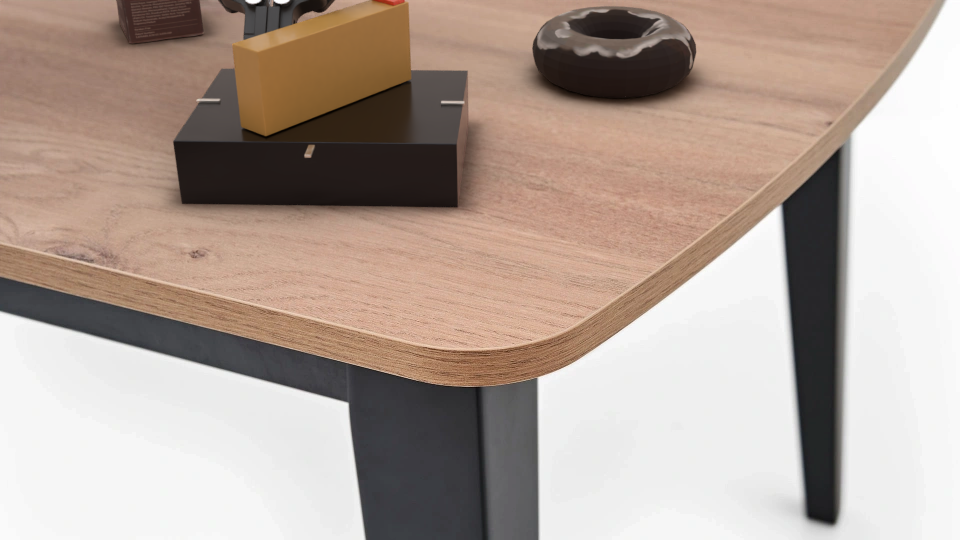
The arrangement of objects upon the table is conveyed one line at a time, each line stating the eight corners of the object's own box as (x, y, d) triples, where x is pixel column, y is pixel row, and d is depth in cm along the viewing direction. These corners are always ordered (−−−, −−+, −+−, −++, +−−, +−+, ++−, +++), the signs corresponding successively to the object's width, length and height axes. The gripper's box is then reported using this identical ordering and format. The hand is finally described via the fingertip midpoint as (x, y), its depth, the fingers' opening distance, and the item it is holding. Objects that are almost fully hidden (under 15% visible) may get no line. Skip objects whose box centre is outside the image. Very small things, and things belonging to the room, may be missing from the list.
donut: (604, 119, 81) (607, 62, 79) (500, 70, 89) (500, 18, 87) (728, 82, 87) (733, 28, 85) (619, 40, 95) (621, -10, 93)
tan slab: (265, 136, 68) (256, 47, 66) (240, 127, 70) (230, 39, 67) (411, 79, 76) (408, -3, 74) (386, 72, 78) (383, -9, 75)
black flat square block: (170, 221, 68) (160, 153, 66) (233, 113, 82) (226, 55, 80) (457, 225, 68) (456, 156, 66) (471, 116, 82) (470, 57, 80)
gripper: (396, -149, 79) (386, 98, 74) (194, -148, 79) (173, 97, 75) (383, -225, 72) (372, 44, 67) (162, -223, 72) (136, 44, 68)
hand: (267, 72), depth 71 cm, fingers closed
